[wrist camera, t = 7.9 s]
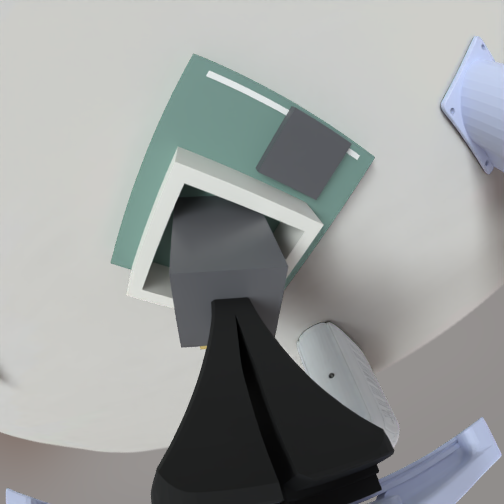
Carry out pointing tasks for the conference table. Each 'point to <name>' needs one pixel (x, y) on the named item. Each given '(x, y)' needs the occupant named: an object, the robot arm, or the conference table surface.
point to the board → (235, 171)
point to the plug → (222, 264)
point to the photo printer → (346, 375)
